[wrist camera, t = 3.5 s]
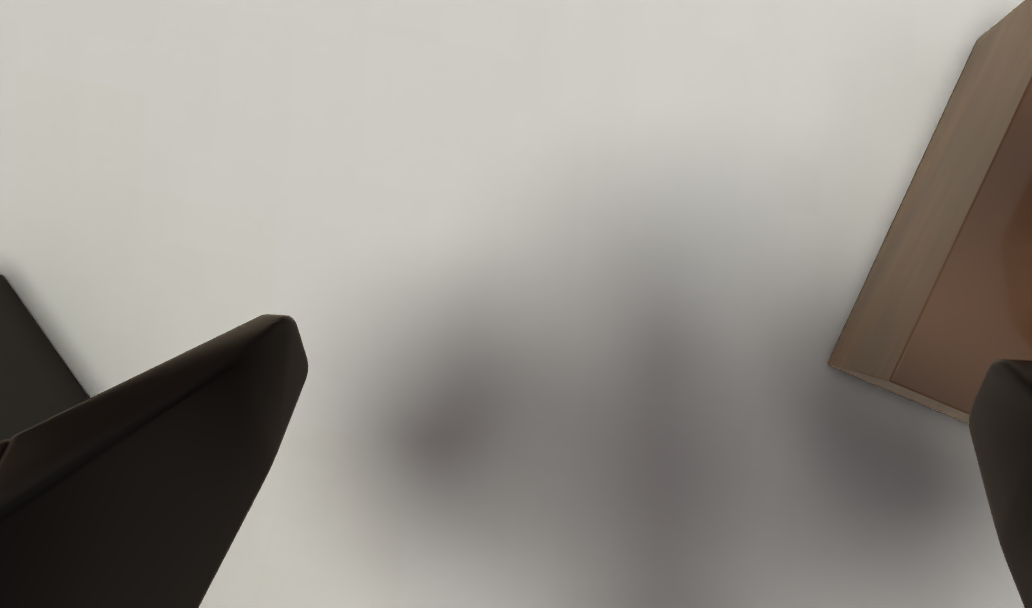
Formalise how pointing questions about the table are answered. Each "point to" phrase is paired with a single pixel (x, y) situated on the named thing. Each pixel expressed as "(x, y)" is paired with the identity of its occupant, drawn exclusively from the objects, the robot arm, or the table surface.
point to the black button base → (29, 371)
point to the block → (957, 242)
